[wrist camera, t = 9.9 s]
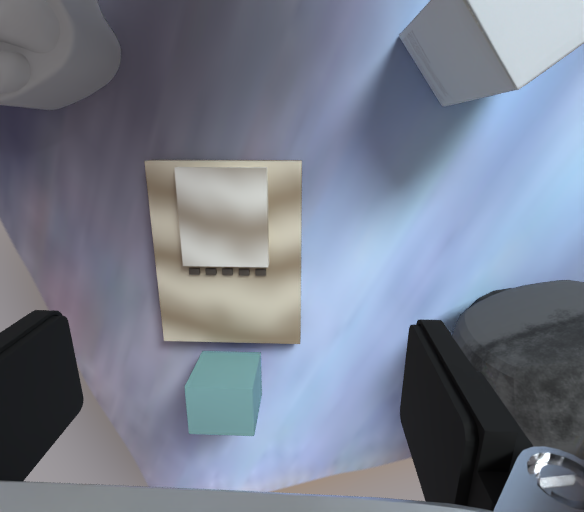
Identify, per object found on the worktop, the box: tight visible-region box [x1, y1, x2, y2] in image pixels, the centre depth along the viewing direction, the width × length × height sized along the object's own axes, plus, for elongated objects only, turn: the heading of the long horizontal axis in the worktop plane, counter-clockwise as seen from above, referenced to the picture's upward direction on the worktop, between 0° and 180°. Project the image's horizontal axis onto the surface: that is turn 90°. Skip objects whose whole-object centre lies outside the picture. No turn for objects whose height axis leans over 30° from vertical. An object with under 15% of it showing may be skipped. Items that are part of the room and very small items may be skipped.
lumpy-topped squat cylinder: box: [0, 0, 121, 110], centre depth 30 cm, size 10×13×9 cm
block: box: [185, 351, 262, 436], centre depth 37 cm, size 5×6×6 cm
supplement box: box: [399, 0, 584, 107], centre depth 26 cm, size 7×7×13 cm
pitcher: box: [452, 280, 584, 460], centre depth 25 cm, size 11×19×30 cm, turn 111°
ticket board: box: [144, 160, 302, 344], centre depth 37 cm, size 18×14×3 cm
